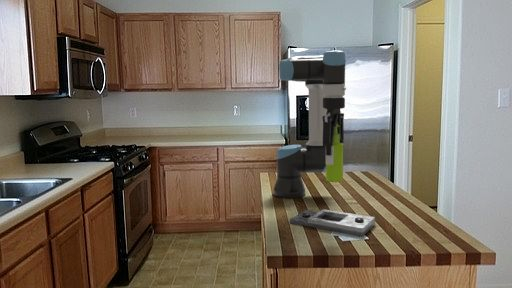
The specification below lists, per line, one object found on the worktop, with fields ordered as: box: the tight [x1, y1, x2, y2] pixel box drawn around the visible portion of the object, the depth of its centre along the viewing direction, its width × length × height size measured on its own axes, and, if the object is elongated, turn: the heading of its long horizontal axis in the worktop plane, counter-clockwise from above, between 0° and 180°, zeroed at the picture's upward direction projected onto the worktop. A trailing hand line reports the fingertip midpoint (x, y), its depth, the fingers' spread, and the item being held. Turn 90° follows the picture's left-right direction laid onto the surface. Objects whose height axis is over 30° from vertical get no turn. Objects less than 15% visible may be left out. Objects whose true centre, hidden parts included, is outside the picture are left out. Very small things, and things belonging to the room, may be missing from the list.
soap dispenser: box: [325, 124, 344, 183], centre depth 143 cm, size 6×7×20 cm
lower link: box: [289, 209, 344, 233], centre depth 152 cm, size 20×14×2 cm, turn 57°
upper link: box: [308, 208, 376, 237], centre depth 148 cm, size 20×14×4 cm, turn 57°
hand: (333, 162), depth 143 cm, fingers closed on soap dispenser, 6 cm apart
